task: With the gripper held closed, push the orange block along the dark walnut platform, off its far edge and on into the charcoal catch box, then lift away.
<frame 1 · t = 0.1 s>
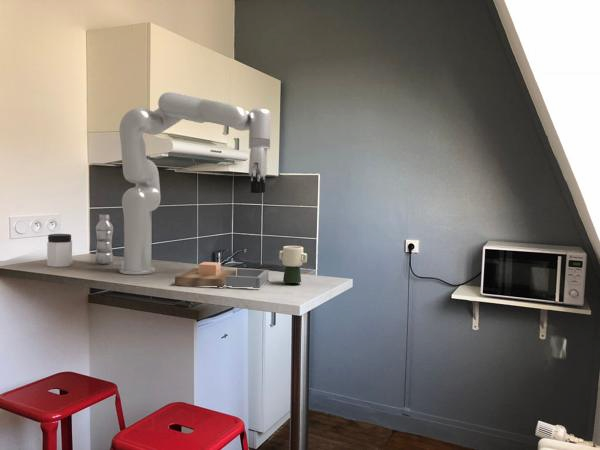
hand: (258, 192, 179), 31 cm above the counter, tool pointing down, fingers open, 9 cm apart
plastic bottle: (104, 264, 202), on the counter
catch box: (246, 284, 171), on the counter
platform: (206, 282, 173), on the counter
character mug: (292, 284, 174), on the counter
jar: (59, 265, 196), on the counter
orange block: (209, 273, 172), point 3 cm above the counter, touching platform
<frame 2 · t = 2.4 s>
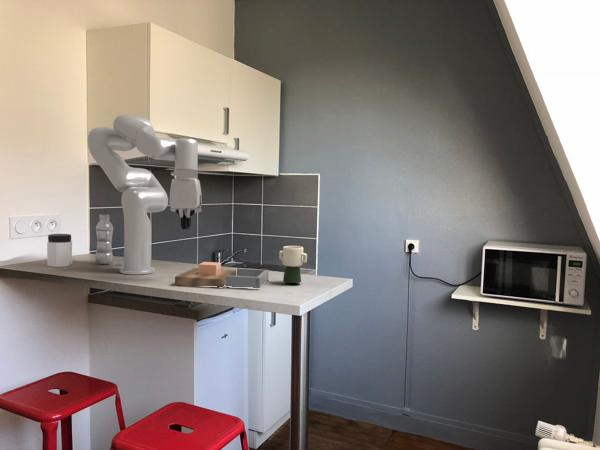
hand: (185, 228, 172), 18 cm above the counter, tool pointing down, fingers closed
nothing on the counter moved.
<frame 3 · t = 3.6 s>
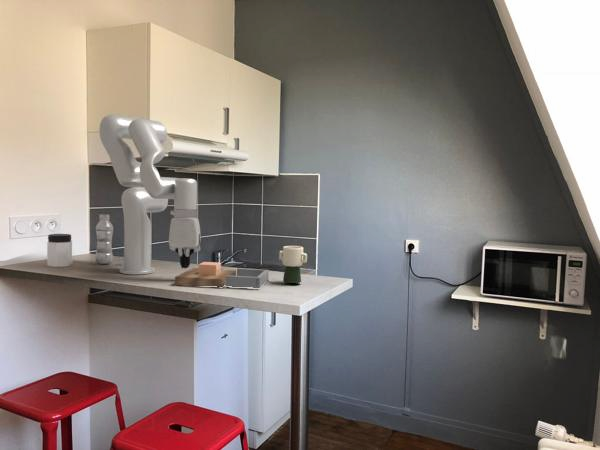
hand: (185, 267, 173), 5 cm above the counter, tool pointing down, fingers closed
nothing on the counter moved.
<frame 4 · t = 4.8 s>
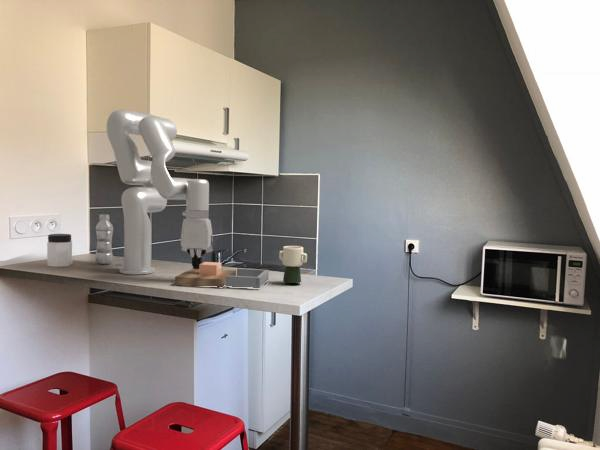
hand: (196, 268, 172), 5 cm above the counter, tool pointing down, fingers closed
orange block: (210, 273, 172), point 3 cm above the counter, touching gripper, platform
everything else where it was.
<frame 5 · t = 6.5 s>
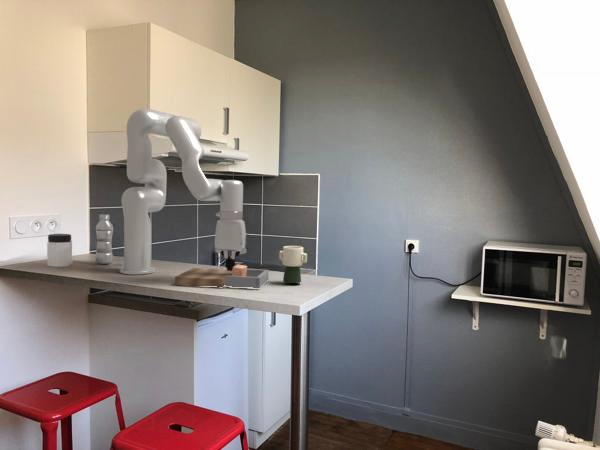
hand: (230, 270, 171), 5 cm above the counter, tool pointing down, fingers closed
orange block: (234, 274, 171), point 3 cm above the counter, tilted 96°
everything else where it was.
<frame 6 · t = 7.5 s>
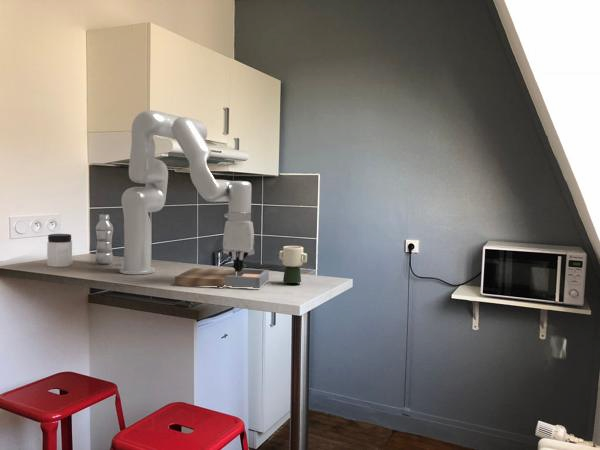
hand: (238, 271, 171), 4 cm above the counter, tool pointing down, fingers closed
orange block: (251, 275, 170), point 3 cm above the counter, tilted 180°
everything else where it was.
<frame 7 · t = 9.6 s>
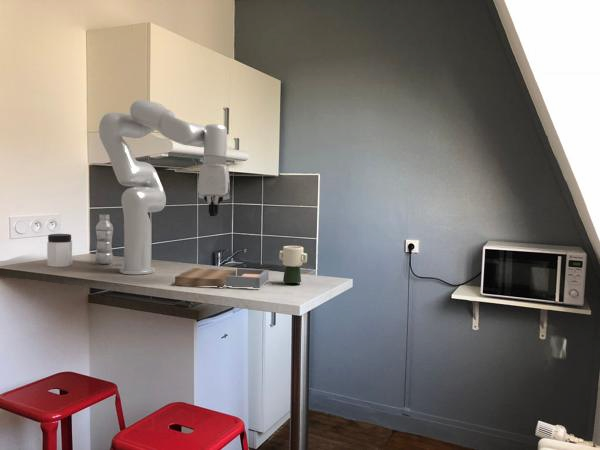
hand: (213, 215, 171), 23 cm above the counter, tool pointing down, fingers closed
nothing on the counter moved.
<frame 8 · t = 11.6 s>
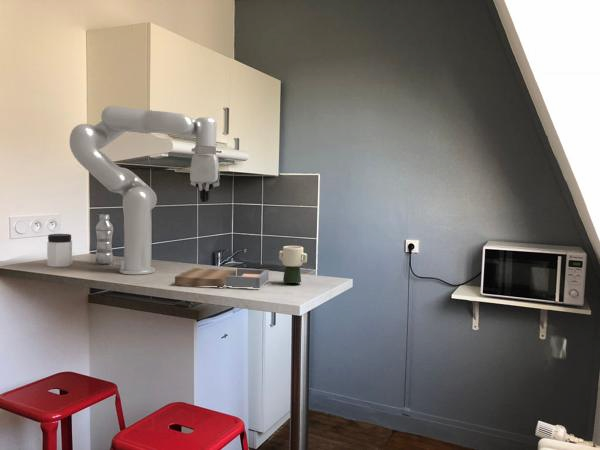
hand: (204, 201, 186), 27 cm above the counter, tool pointing down, fingers closed
nothing on the counter moved.
at the end: orange block inside the target area on the catch box (1.7 cm from its centre), point 3.2 cm above the catch box's base; orange block moved 14.6 cm from its start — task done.
